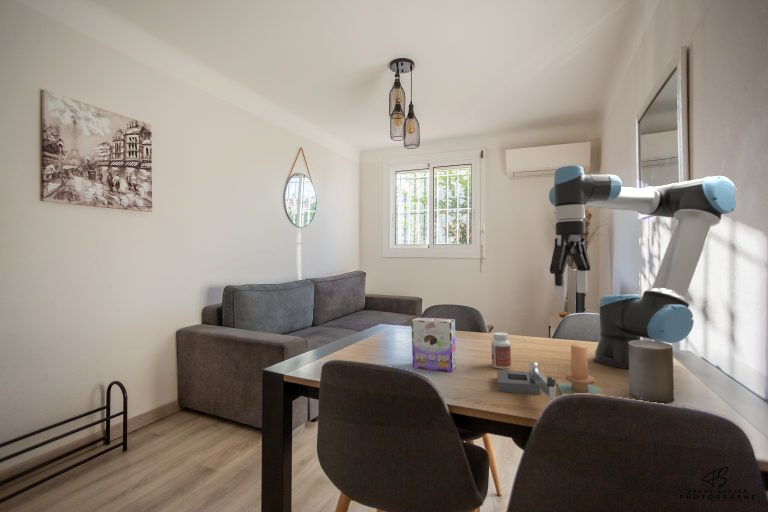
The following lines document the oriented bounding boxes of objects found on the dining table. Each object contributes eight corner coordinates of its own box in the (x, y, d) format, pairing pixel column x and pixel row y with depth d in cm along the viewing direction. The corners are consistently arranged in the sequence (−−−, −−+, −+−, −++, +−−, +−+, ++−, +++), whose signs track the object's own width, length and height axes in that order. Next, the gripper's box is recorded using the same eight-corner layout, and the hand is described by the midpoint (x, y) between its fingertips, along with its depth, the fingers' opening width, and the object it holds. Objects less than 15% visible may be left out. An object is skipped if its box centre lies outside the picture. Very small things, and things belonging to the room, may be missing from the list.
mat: (595, 386, 107) (595, 385, 107) (605, 400, 97) (605, 398, 97) (556, 383, 110) (556, 382, 110) (562, 396, 100) (562, 395, 100)
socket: (535, 380, 113) (535, 372, 113) (540, 394, 102) (540, 385, 102) (497, 378, 116) (497, 369, 116) (497, 391, 105) (497, 382, 105)
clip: (528, 380, 105) (528, 359, 105) (536, 380, 105) (536, 359, 105) (547, 403, 89) (547, 379, 89) (557, 403, 89) (557, 379, 89)
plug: (590, 386, 106) (590, 343, 106) (597, 396, 99) (596, 350, 99) (563, 384, 108) (562, 342, 108) (568, 393, 101) (567, 349, 101)
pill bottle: (515, 367, 126) (514, 333, 126) (502, 370, 123) (502, 336, 123) (500, 362, 131) (499, 330, 131) (487, 366, 128) (487, 333, 128)
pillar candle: (680, 396, 99) (678, 339, 99) (665, 406, 93) (664, 345, 93) (638, 386, 107) (636, 333, 107) (622, 394, 101) (621, 338, 101)
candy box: (456, 367, 127) (455, 318, 127) (452, 372, 122) (451, 321, 121) (417, 363, 133) (416, 316, 133) (411, 368, 127) (410, 319, 127)
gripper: (575, 222, 119) (577, 290, 120) (535, 221, 103) (537, 298, 104) (601, 221, 114) (603, 291, 114) (562, 218, 98) (564, 300, 98)
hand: (571, 295), depth 109 cm, fingers open, 13 cm apart
